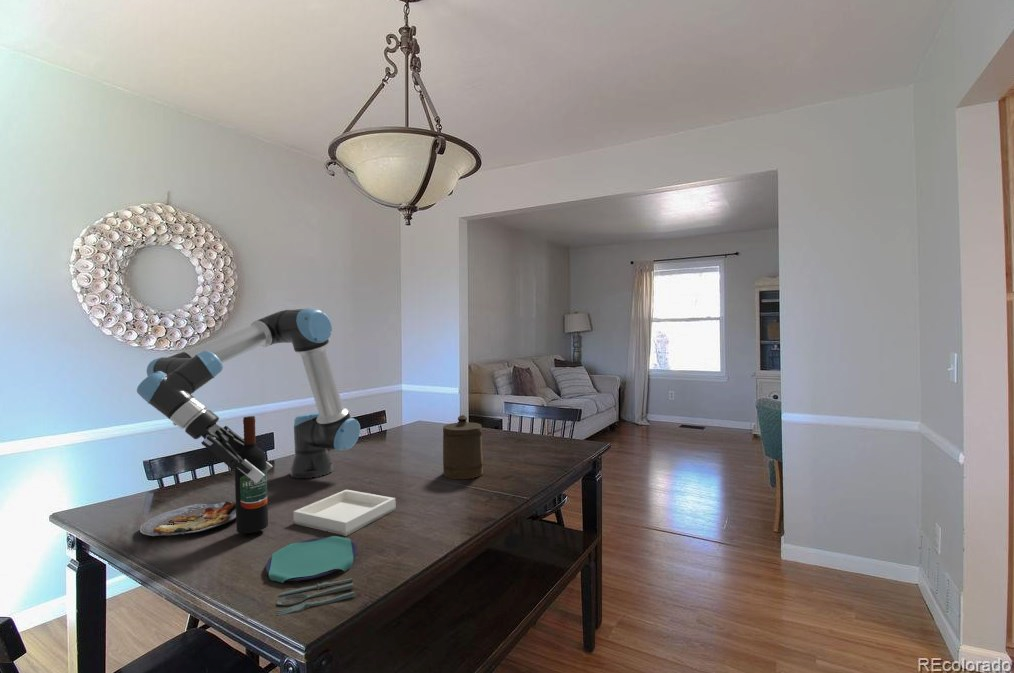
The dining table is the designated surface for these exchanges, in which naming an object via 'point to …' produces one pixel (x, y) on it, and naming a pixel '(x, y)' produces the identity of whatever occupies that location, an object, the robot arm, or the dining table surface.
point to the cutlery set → (311, 568)
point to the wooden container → (462, 449)
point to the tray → (344, 512)
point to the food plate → (191, 519)
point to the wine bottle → (251, 485)
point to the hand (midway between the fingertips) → (264, 474)
